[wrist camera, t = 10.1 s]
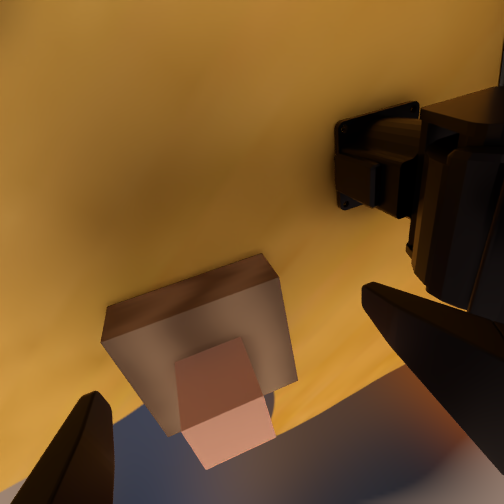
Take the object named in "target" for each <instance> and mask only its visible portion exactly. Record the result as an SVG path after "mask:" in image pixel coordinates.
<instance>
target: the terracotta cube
mask: <svg viewBox="0 0 504 504" xmlns="http://www.w3.org/2000/svg"><path fill="white" fill-rule="evenodd" d="M174 364H175V374H176V384H177V394H178V404H179V415H180V425H181V432H182V434H183V435H184V437H185V438H186V440H187V441H188V443H189V444H190V446H191V448H192V449H193V451H194V452H195V454H196V455H197V457H198V458H199V460H200V461H201V463H202V465H203V466H204V468H205V469H206V470H207V469H209V468H211V467H213V466H216V465H218V464H220V463H222V462H224V461H226V460H228V459H231V458H233V457H235V456H237V455H239V454H241V453H243V452H245V451H248V450H250V449H252V448H254V447H256V446H258V445H261V444H263V443H265V442H267V441H269V440H271V439H274V438H276V435H275V432H274V428H273V425H272V422H271V419H270V415H269V412H268V409H267V406H266V402H265V399H264V396H263V393H262V391H261V388H260V386H259V383H258V380H257V378H256V375H255V373H254V370H253V367H252V365H251V362H250V360H249V357H248V354H247V352H246V349H245V347H244V344H243V341H242V339H241V336H240V337H238V338H235V339H233V340H230V341H228V342H225V343H222V344H220V345H217V346H215V347H212V348H210V349H207V350H205V351H202V352H200V353H197V354H195V355H192V356H190V357H187V358H184V359H182V360H179V361H177V362H174Z"/></svg>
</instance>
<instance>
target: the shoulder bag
mask: <svg viewBox="0 0 504 504" xmlns="http://www.w3.org/2000/svg"><path fill="white" fill-rule="evenodd" d="M500 86H504V53H503V60H502V69H501V77H500Z"/></svg>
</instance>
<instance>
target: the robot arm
mask: <svg viewBox="0 0 504 504" xmlns="http://www.w3.org/2000/svg"><path fill="white" fill-rule="evenodd" d="M411 107H412V111H410V110H411ZM419 108H420V107H419V103H418V102H417V101H409V102H405V103H402V104H398V105H395V106H391V107H388V108H384V109H381V110H377V111H373V112H370V113H366V114H363V115H359V116H356V117H352V118H348V119H345V120H341V121H339V122H338V123H337V124H336V126H335V150H336V155H335V157H334V160H335V184H336V190H337V201H338V207H339V208H340V209H342V210H348V209H351V208H354V207H357V206H360V205H363V204H364V205H366V206H368V207H370V208H377V209H379V210H381V211H383V212H385V213H387V214H389V215H391V216H393V217H395V218H397V219H401V218H404V217H406V218H408V219H411V223H410V232H409V241H408V243H407V244H406V253H407V254H408V255H409V256H410V258H411V259H412V262H411V264H412V267H413V270H414V273H415V275H416V276H417V277H418V278H419V279H420V280H421V281H422V283H423V284H424V285H426V291H427V292H428V293H429V294H431V295H433V296H434V297H436V298H438V299H439V300H441V301H443V302H445V303H448V304H450V305H452V306H455V307H457V308H461V309H464V310H467V312H465V311H462V310H459V309H456V308H453V307H450V306H447V305H444V304H441V303H438V302H435V301H432V300H429V299H425V298H422V297H419V296H416V295H413V294H410V293H407V292H404V291H401V290H398V289H395V288H392V287H389V286H386V285H383V284H380V283H377V282H370V283H368V284H365V285H363V286H362V306H363V308H364V310H365V312H366V313H367V314H368V316H369V317H370V319H371V320H372V321H373V323H374V324H375V326H376V327H377V329H378V330H379V331H380V333H381V334H382V336H383V337H384V338H385V340H386V341H387V342H388V344H389V345H390V346H391V348H392V349H393V350H394V351H395V352H396V353H397V355H398V356H399V357H400V358H401V359H402V360H403V361H404V363H405V364H406V365H407V366H408V367H409V368H410V369H411V371H412V372H413V373H414V374H415V375H416V376H417V377H418V379H419V380H420V381H421V382H422V383H423V384H424V385H425V386H426V388H427V389H428V390H429V391H430V392H431V393H432V395H433V396H434V397H435V398H436V399H437V400H438V401H439V403H440V404H441V405H442V406H443V407H444V408H445V410H447V412H448V413H449V414H450V415H451V416H452V417H453V419H454V420H455V421H456V422H457V423H458V424H459V426H461V428H462V429H463V430H464V431H465V432H466V434H467V435H468V436H469V437H470V438H471V439H472V440H473V441H474V443H475V444H476V445H477V446H478V447H479V448H480V450H482V452H483V453H484V454H485V455H486V456H487V458H488V459H489V460H490V461H491V462H492V463H493V464H494V465H495V467H496V468H497V469H498V470H499V471H500V473H501V474H502V475H504V86H497V87H491V88H488V89H484V90H481V91H477V92H474V93H471V94H467V95H464V96H460V97H457V98H453V99H450V100H446V101H443V102H439V103H436V104H432V105H429V106H425V107H422V108H421V111H420V119H418V117H419ZM342 126H344V127H345V128H344V131H343V132H342V131H341V128H342ZM345 201H346V204H345V205H343V204H344V202H345ZM114 462H115V461H114V441H113V422H112V410H111V407H110V405H109V403H108V402H107V401H106V400H105V399H104V397H103V396H102V395H101V394H100V393H99V392H98V391H93V392H90V393H88V394H85V395H83V396H82V397H81V398H80V399H79V400H78V402H77V403H76V405H75V407H74V408H73V410H72V411H71V413H70V414H69V416H68V417H67V419H66V420H65V422H64V423H63V425H62V426H61V428H60V429H59V431H58V432H57V434H56V435H55V437H54V438H53V440H52V441H51V443H50V444H49V446H48V447H47V449H46V450H45V452H44V453H43V455H42V456H41V458H40V460H39V461H38V463H37V464H36V466H35V467H34V469H33V470H32V472H31V473H30V475H29V476H28V478H27V479H26V481H25V482H24V484H23V485H22V487H21V488H20V490H19V491H18V493H17V494H16V496H15V497H14V499H13V501H12V502H11V504H113V489H114V470H115V469H114V468H115V465H114V464H115V463H114Z"/></svg>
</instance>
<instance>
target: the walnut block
mask: <svg viewBox="0 0 504 504" xmlns="http://www.w3.org/2000/svg"><path fill="white" fill-rule="evenodd" d="M240 336H241V339H242V341H243V344H244V347H245V349H246V352H247V354H248V357H249V360H250V362H251V365H252V367H253V370H254V373H255V375H256V378H257V380H258V383H259V386H260V388H261V391H262V393H263V396H264V395H266V394H268V393H271V392H273V391H275V390H277V389H280V388H282V387H284V386H287V385H289V384H291V383H293V382H296V381H298V378H297V372H296V367H295V361H294V356H293V351H292V345H291V340H290V334H289V329H288V323H287V318H286V312H285V307H284V302H283V296H282V291H281V285H280V280H279V276H278V275H277V274H276V272H275V271H274V269H273V268H272V267H271V265H270V264H269V263H268V261H267V260H266V258H265V257H264V256H263V254H262V253H261V254H258V255H255V256H252V257H249V258H246V259H243V260H241V261H238V262H235V263H232V264H229V265H226V266H223V267H221V268H218V269H215V270H212V271H209V272H206V273H203V274H200V275H198V276H195V277H192V278H189V279H186V280H183V281H180V282H177V283H175V284H172V285H169V286H166V287H163V288H160V289H157V290H154V291H152V292H149V293H146V294H143V295H140V296H137V297H134V298H131V299H129V300H126V301H123V302H120V303H117V304H114V305H111V306H109V307H107V311H106V316H105V321H104V327H103V332H102V337H101V344H102V345H103V347H104V348H105V350H106V351H107V352H108V354H109V355H110V357H111V358H112V359H113V361H114V362H115V364H116V365H117V366H118V368H119V369H120V371H121V372H122V373H123V375H124V376H125V378H126V379H127V380H128V382H129V383H130V385H131V386H132V387H133V389H134V390H135V391H136V393H137V394H138V396H139V397H140V398H141V400H142V401H143V403H144V404H145V405H146V407H147V408H148V410H149V411H150V412H151V414H152V415H153V417H154V418H155V419H156V421H157V422H158V424H159V425H160V426H161V428H162V429H163V431H164V432H165V433H166V435H167V436H168V437H170V436H172V435H174V434H177V433H179V432H181V425H180V415H179V404H178V394H177V384H176V374H175V364H174V362H177V361H179V360H182V359H184V358H187V357H190V356H192V355H195V354H197V353H200V352H202V351H205V350H207V349H210V348H212V347H215V346H217V345H220V344H222V343H225V342H228V341H230V340H233V339H235V338H238V337H240Z"/></svg>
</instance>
